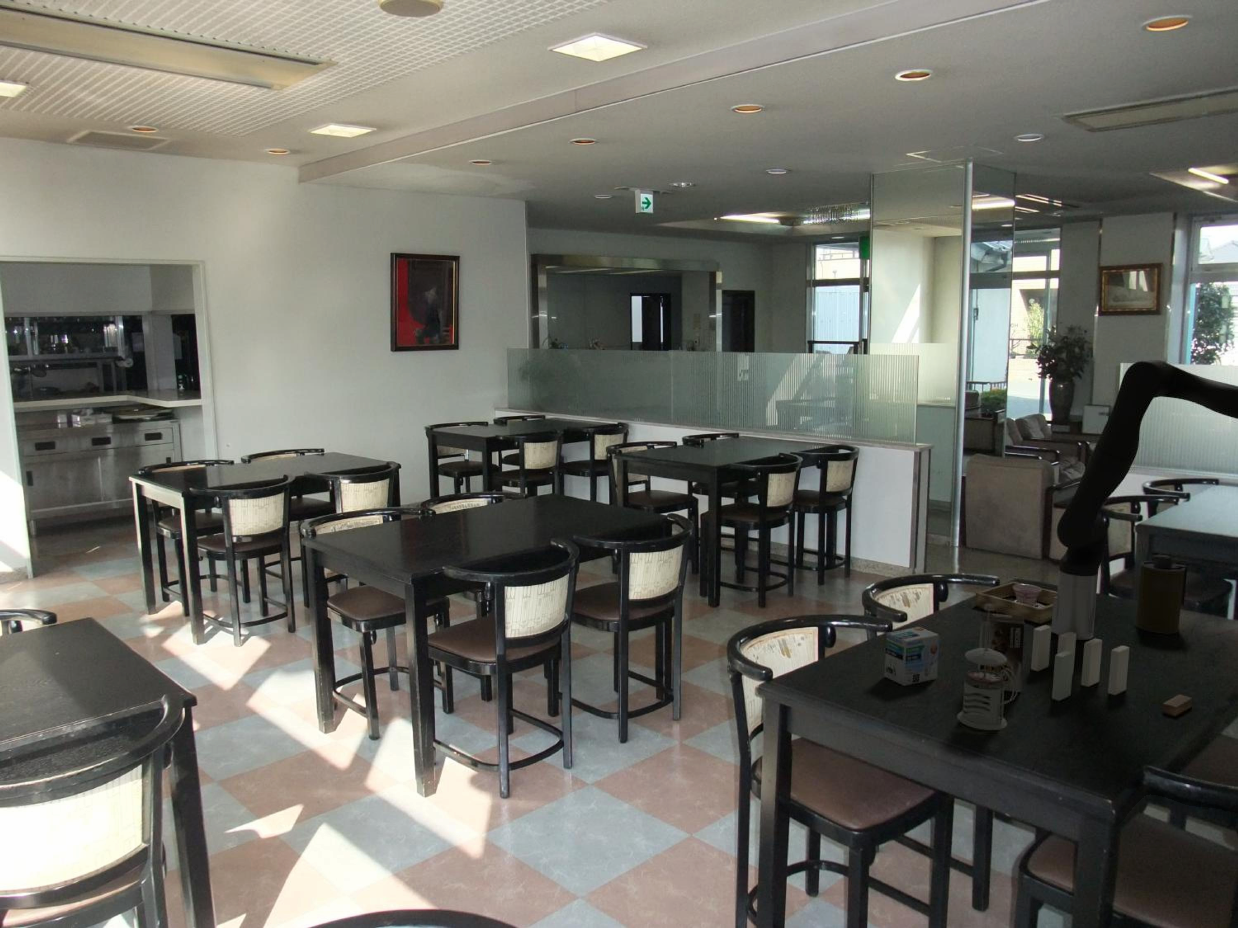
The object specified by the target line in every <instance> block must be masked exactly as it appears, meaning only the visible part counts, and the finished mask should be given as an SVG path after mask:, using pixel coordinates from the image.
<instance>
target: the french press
mask: <svg viewBox="0 0 1238 928" xmlns="http://www.w3.org/2000/svg"><path fill="white" fill-rule="evenodd" d="M983 609H984V610H985V611H987V613H988V623H987V638H986V648H979V647H978V648H974V649H970V650H968V651H966V652H965V653H964V656H965V658H966V660H967V661H969V662H971V663H974V664H976V665H979V664H980V665H985V669H983V670H981V669H978V668H975V669H974V668H973V669H970V670H968V671H967V672H966V673H965V674H966V677H965V678H964V684H963V685H964V687H963V699H962V701H963V703H962V704H963V705H962V710H961V711H960V712H959V713H958V714H957V716H956V717H957V720H958V721H959V722H961V723H962V724H964V725H966V726H968V727H970V728H974V729H978V730H986V731H998V730H1002V729H1004V728H1006V727H1007V726H1008V722H1007V719H1005V717H1004V707H1005V706H1004V705H1005V704H1008V703H1009V702H1012V701H1014V700H1015V698H1016V697H1017V695H1018V693H1019V692H1018V681H1017V679H1016V676H1015V675H1014V674H1013V672H1012V671H1011V670H1009V669H1008V668H1005V670H1001V675H1000V674H998V673H995V672H994V671H993V672H992V671H989V670H986V666H999V665H1003V664H1004V663H1005V662H1006V661H1007V658H1006V657H1005V656H1004V655H1002V654H1001V653H1000V652H997V651H994V650H992V649H989V648H987V640H988V624H989V613H990V612H994V611H993V610H994V607H993V605H991V604H986V605H985V607H984V608H983ZM1006 669H1007V670H1009V671H1010V672H1011V673H1012V674H1013V676H1014V678H1015V680H1016V683H1017V690H1016V692H1014V684H1013V681H1012V679H1011V677H1010V676H1009V674H1008V673H1007V672H1006ZM1002 671H1004V674H1005V673H1006V674H1007V675H1008V676H1009V678H1010V679H1011V682H1012V685H1013V691H1012V694H1011V697H1010V698H1009V699H1008V700H1004V699H1005V690H1004V683H1003V682H1001V681H1002V680H1003V675H1004V674H1002ZM988 684H998V685H999V686H1000V687H1001V688H1002V690H1001V689H999V688H998V687H994V686H992V687H987V688H979V687H977V686H982V685H988ZM974 686H976V687H974ZM1014 694H1015V695H1014ZM986 697H988V698H986ZM986 703H988V704H986Z"/></svg>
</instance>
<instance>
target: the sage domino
mask: <svg viewBox="0 0 1238 928" xmlns="http://www.w3.org/2000/svg"><path fill="white" fill-rule="evenodd" d="M1073 658H1074V659H1075V656H1074V652H1071V651H1068V650H1066V651H1064V652H1061V653H1059V654H1055V656H1054V666H1053V667H1054V668H1053V680H1052V695H1051V699H1053V700H1055V701H1058V702H1059V701H1062V700H1063V699H1066V698H1068V697H1070V696H1071V692H1072V680H1073V674H1072V670H1073V671H1074V669H1073Z"/></svg>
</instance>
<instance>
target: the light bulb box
mask: <svg viewBox="0 0 1238 928" xmlns="http://www.w3.org/2000/svg"><path fill="white" fill-rule="evenodd" d="M885 639H886V640H885V645H886V646H885V657H884V659H885V662H884V677H885V678H887V679H889V680H891V681H893V682H896V683H898V684H899V685H902V686H909V685H913V684H919V683H923V682H928V681H934V680H937V679H938V665H939V646H940V634H938V633H936V632H933V631H930V630H927V629H925V628H923V627H920V626H916V627H911V628H907V629H901V630H895V631H891V632H890V631H889V632H886V638H885Z"/></svg>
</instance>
